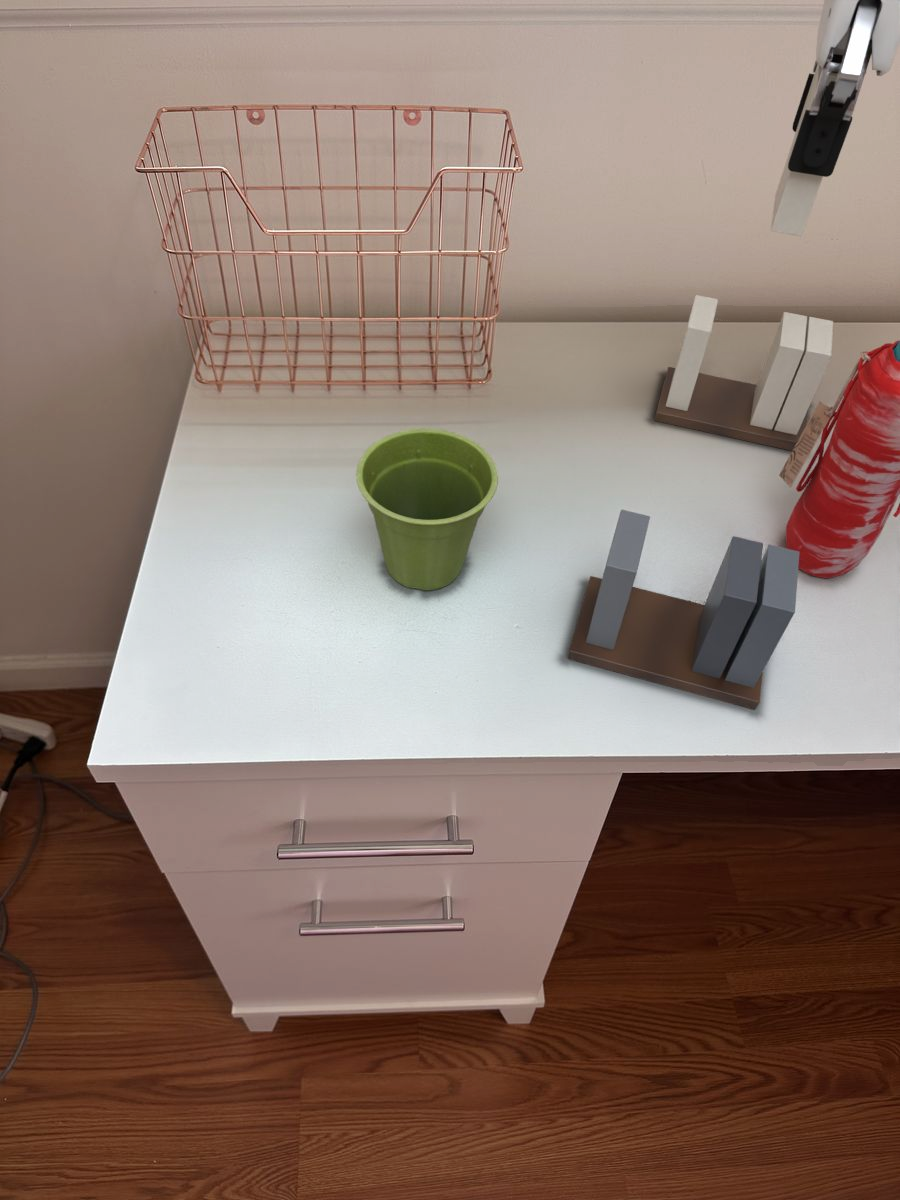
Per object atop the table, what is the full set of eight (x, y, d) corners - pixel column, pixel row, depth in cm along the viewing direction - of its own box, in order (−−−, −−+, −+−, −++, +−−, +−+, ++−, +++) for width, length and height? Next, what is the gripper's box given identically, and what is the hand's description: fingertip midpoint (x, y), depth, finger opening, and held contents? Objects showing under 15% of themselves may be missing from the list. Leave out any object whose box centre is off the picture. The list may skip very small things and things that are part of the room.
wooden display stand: (805, 404, 98) (843, 316, 89) (801, 453, 92) (841, 364, 83) (666, 374, 100) (689, 287, 92) (654, 420, 95) (677, 331, 86)
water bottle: (730, 525, 85) (823, 295, 65) (786, 496, 88) (891, 267, 68) (825, 606, 78) (959, 377, 59) (881, 571, 81) (1026, 343, 62)
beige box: (804, 200, 71) (851, 65, 63) (801, 236, 67) (851, 97, 59) (775, 195, 72) (818, 61, 64) (770, 231, 68) (816, 93, 60)
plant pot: (447, 632, 75) (451, 544, 66) (336, 577, 79) (327, 486, 70) (511, 549, 82) (523, 459, 73) (407, 502, 85) (406, 410, 77)
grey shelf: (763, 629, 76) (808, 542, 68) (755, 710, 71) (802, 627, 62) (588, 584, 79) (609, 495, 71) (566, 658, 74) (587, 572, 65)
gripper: (996, -119, 46) (861, 211, 60) (969, -174, 57) (860, 116, 70) (851, -134, 47) (752, 193, 61) (852, -185, 58) (767, 102, 72)
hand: (811, 150), depth 65 cm, fingers closed on beige box, 6 cm apart
